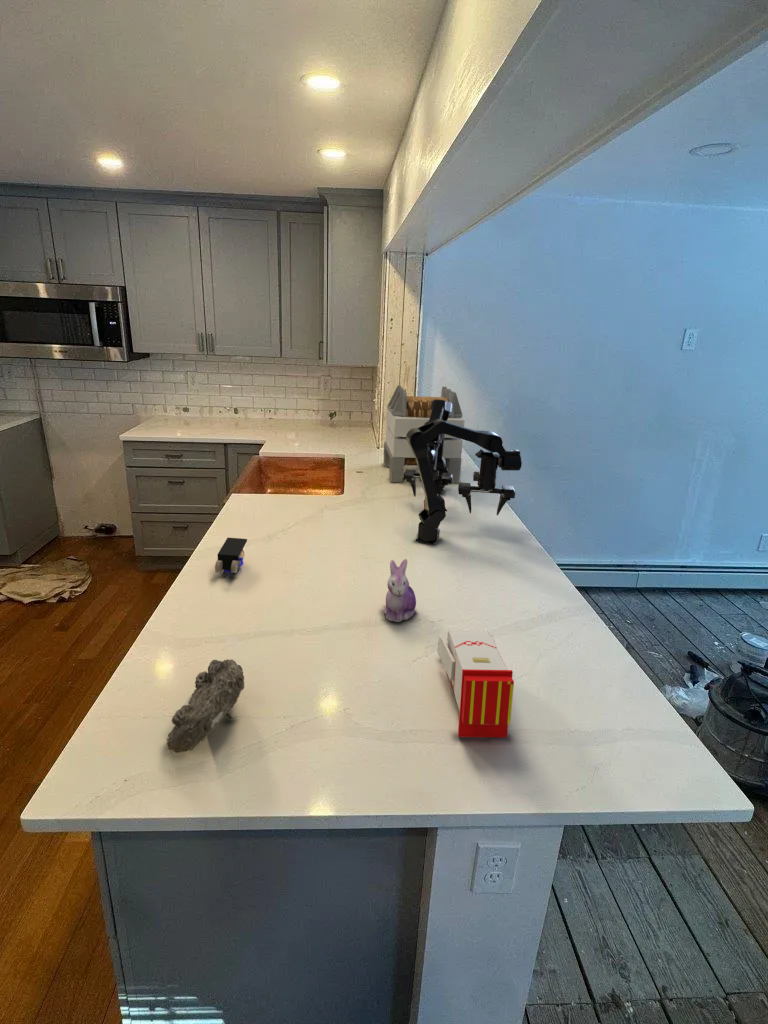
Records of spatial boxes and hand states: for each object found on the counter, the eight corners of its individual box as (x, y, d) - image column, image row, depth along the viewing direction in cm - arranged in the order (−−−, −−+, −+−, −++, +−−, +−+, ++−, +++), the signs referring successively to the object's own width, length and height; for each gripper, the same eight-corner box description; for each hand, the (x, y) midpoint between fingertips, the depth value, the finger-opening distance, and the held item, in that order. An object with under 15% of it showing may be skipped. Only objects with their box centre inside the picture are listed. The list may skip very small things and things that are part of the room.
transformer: (382, 463, 289) (386, 382, 275) (445, 464, 293) (451, 384, 279) (390, 482, 257) (394, 392, 243) (460, 483, 261) (468, 394, 247)
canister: (434, 515, 219) (435, 503, 217) (422, 514, 220) (423, 502, 218) (436, 511, 224) (437, 499, 222) (424, 510, 225) (425, 498, 223)
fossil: (192, 660, 117) (244, 628, 112) (224, 691, 120) (276, 661, 115) (142, 746, 98) (202, 712, 93) (182, 779, 101) (242, 748, 96)
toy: (488, 613, 130) (523, 677, 101) (484, 667, 133) (517, 744, 104) (435, 612, 130) (455, 676, 101) (432, 666, 133) (451, 743, 103)
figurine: (392, 627, 141) (395, 572, 136) (374, 608, 149) (376, 556, 144) (425, 619, 145) (429, 566, 140) (405, 601, 154) (408, 550, 149)
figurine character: (238, 584, 162) (249, 557, 175) (236, 562, 158) (247, 536, 172) (215, 584, 161) (227, 556, 175) (212, 561, 158) (225, 535, 171)
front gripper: (513, 465, 196) (508, 508, 202) (459, 462, 198) (456, 504, 203) (517, 474, 186) (512, 519, 191) (460, 470, 187) (456, 515, 193)
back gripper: (402, 461, 211) (399, 501, 216) (452, 466, 208) (448, 506, 213) (406, 454, 221) (404, 493, 226) (454, 459, 218) (451, 497, 223)
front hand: (483, 513), depth 195 cm, fingers open, 9 cm apart
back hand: (426, 497), depth 222 cm, fingers open, 9 cm apart
